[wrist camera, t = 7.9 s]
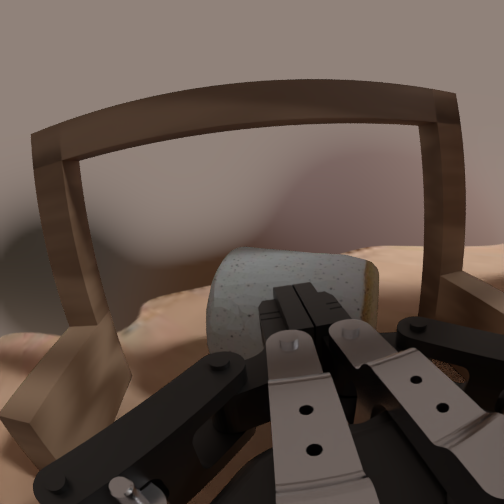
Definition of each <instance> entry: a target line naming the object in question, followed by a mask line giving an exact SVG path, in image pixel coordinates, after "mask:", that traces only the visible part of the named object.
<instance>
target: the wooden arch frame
mask: <svg viewBox="0 0 504 504" xmlns="http://www.w3.org/2000/svg"><path fill="white" fill-rule="evenodd" d="M327 123H328V124H331V123H372V124H374V123H375V124H400V125H416V126H419V135H420V143H421V154H422V166H423V184H424V254H423V272H422V285H421V295H420V305H419V313H418V317H425V318H429V319H433V320H438V321H442V322H447V323H451V324H456V325H460V326H465V327H469V328H474V329H478V330H483V331H488V332H492V333H497V334H502V335H504V292H502V291H500V290H498V289H496V288H495V287H493V286H491V285H489V284H487V283H485V282H483V281H481V280H480V279H478V278H476V277H474V276H472V275H470V274H468V273H466V272H464V271H462V267H463V256H464V242H465V218H466V217H465V216H466V212H465V211H466V189H465V167H464V166H465V165H464V152H463V141H462V132H461V124H460V117H459V110H458V104H457V98H456V94H455V93H451V92H445V91H440V90H435V89H429V88H423V87H416V86H408V85H400V84H392V83H383V82H371V81H355V80H332V79H331V80H330V79H298V80H297V79H296V80H271V81H257V82H244V83H234V84H225V85H218V86H209V87H203V88H195V89H189V90H183V91H178V92H172V93H167V94H162V95H157V96H153V97H148V98H144V99H140V100H135V101H131V102H127V103H123V104H119V105H115V106H112V107H108V108H105V109H101V110H98V111H94V112H91V113H88V114H85V115H82V116H79V117H76V118H73V119H70V120H67V121H64V122H61V123H59V124H56V125H53V126H50V127H48V128H45V129H43V130H40V131H38V132H35V133H33V134H31V145H32V159H33V169H34V178H35V186H36V194H37V200H38V207H39V213H40V219H41V224H42V229H43V234H44V239H45V243H46V248H47V252H48V256H49V261H50V264H51V268H52V272H53V275H54V279H55V282H56V286H57V290H58V293H59V296H60V299H61V303H62V306H63V309H64V312H65V315H66V318H67V320H68V323H69V326H70V327H69V328H68V329H67V330H66V332H65V333H64V334H63V335H62V336H61V337H60V338H59V339H58V341H57V342H56V343H55V344H54V345H53V346H52V347H51V349H50V350H49V351H48V352H47V353H46V355H45V356H44V357H43V358H42V359H41V360H40V362H39V363H38V364H37V365H36V366H35V368H34V369H33V370H32V371H31V373H30V374H29V375H28V376H27V378H26V379H25V380H24V381H23V383H22V384H21V385H20V386H19V388H18V389H17V390H16V391H15V393H14V394H13V395H12V397H11V398H10V399H9V401H8V402H7V403H6V405H5V406H4V407H3V409H2V410H1V411H0V420H1V421H2V423H3V424H4V425H5V427H6V428H7V430H8V431H9V433H10V434H11V435H12V437H13V438H14V439H15V441H16V442H17V443H18V445H19V446H20V447H21V449H22V450H23V451H24V452H25V454H26V455H27V456H28V457H29V459H30V460H31V461H32V462H33V463H34V465H35V466H36V467H37V468H38V469H39V470H41V469H43V468H44V467H45V466H47V465H49V464H50V463H52V462H54V461H55V460H57V459H58V458H60V457H62V456H63V455H65V454H66V453H68V452H69V451H71V450H73V449H74V448H76V447H77V446H79V445H80V444H82V443H83V442H85V441H87V440H88V439H90V438H91V437H93V436H94V435H96V434H97V433H99V432H100V431H102V430H103V429H105V428H106V427H108V426H109V425H111V424H112V423H113V422H114V420H115V417H116V415H117V412H118V410H119V407H120V404H121V402H122V399H123V397H124V394H125V392H126V389H127V387H128V384H129V382H130V380H131V377H132V374H131V372H130V369H129V366H128V364H127V361H126V358H125V356H124V353H123V350H122V347H121V344H120V342H119V339H118V336H117V333H116V330H115V327H114V323H113V320H112V317H111V314H110V310H109V307H108V304H107V301H106V297H105V294H104V290H103V286H102V282H101V278H100V275H99V270H98V267H97V262H96V258H95V254H94V249H93V245H92V240H91V235H90V230H89V225H88V219H87V214H86V208H85V202H84V195H83V189H82V182H81V173H80V166H79V161H80V160H84V159H87V158H91V157H95V156H98V155H102V154H106V153H110V152H114V151H118V150H123V149H127V148H132V147H136V146H141V145H146V144H151V143H155V142H161V141H166V140H171V139H177V138H183V137H188V136H195V135H202V134H209V133H216V132H224V131H232V130H240V129H250V128H260V127H271V126H285V125H301V124H327ZM449 364H450V363H449ZM450 365H451V366H452V367H453V368H454V369H455V370H456V371H457V372H458V373H459V374H460V375H461V376H462V377H463V378H464V379H465V380H466V381H467V380H468V379H469V372H468V370H467V369H466V368H464V367H461V366H457V365H454V364H450Z"/></svg>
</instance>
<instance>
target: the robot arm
mask: <svg viewBox="0 0 504 504" xmlns="http://www.w3.org/2000/svg"><path fill="white" fill-rule="evenodd" d="M273 298H274V299H272V300H265V301H262V302H261V303H260V305H259V307H258V311H259V320H260V328H261V337H262V343H263V347H264V349H263V350H262V351H261V352H260V353H259V354H257V355H256V356H254V357H251V358H249V359H246V360H244V358H243V357H242V356H241V355H239V354H237V353H234V352H228V351H222V352H215V353H212V354H209V355H207V356H205V357H203V358H202V359H200V360H199V361H198V362H196V363H195V364H194V365H193V366H191V367H190V368H189V369H187V370H186V371H185V372H183V373H182V374H181V375H179V376H178V377H177V378H175V379H174V380H172V381H171V382H170V383H168V384H167V385H166V386H164V387H163V388H162V389H160V390H159V391H157V392H156V393H155V394H153V395H152V396H151V397H149V398H148V399H146V400H145V401H144V402H142V403H141V404H139V405H138V406H137V407H135V408H134V409H132V410H131V411H129V412H128V413H127V414H125V415H124V416H122V417H121V418H119V419H118V420H116V421H115V422H113V423H112V424H111V425H109V426H108V427H106V428H105V429H103V430H102V431H100V432H99V433H97V434H96V435H94V436H93V437H91V438H90V439H88V440H87V441H85V442H83V443H82V444H80V445H79V446H77V447H76V448H74V449H73V450H71V451H69V452H68V453H66V454H65V455H63V456H62V457H60V458H58V459H57V460H55V461H54V462H52V463H50V464H49V465H47V466H45V467H44V468H43V469H41V470H40V471H39V473H38V474H37V475H36V477H35V479H34V483H33V491H34V495H35V497H36V499H37V500H38V501H39V503H40V504H187V503H188V502H189V501H190V500H191V499H192V498H193V497H194V496H195V495H196V494H197V493H199V492H200V491H201V490H202V489H203V488H204V487H205V486H206V485H207V484H208V483H209V482H210V481H211V480H212V479H213V478H214V477H215V476H216V475H217V474H218V473H219V472H220V471H221V470H222V469H223V468H224V467H225V465H226V464H227V463H228V462H229V461H230V460H231V459H232V458H233V457H234V456H235V455H236V454H237V453H238V452H239V451H240V449H241V448H242V447H243V446H244V445H245V444H246V443H247V442H248V441H249V439H250V438H251V437H252V436H253V435H254V433H255V431H256V427H257V426H259V425H262V424H264V423H267V422H269V421H271V429H272V442H273V447H272V448H270V449H268V450H266V451H264V452H262V453H261V454H259V455H257V456H256V457H254V458H253V459H252V460H250V461H249V462H248V463H247V464H245V465H244V466H243V467H242V468H241V469H240V470H239V471H238V472H237V473H236V475H235V476H234V477H233V478H232V479H231V480H230V482H229V483H228V484H227V485H226V486H225V487H224V488H223V490H222V491H221V492H220V493H219V494H218V495H217V496H216V497H215V498H214V500H213V501H212V502H211V503H210V504H504V335H502V334H497V333H492V332H488V331H483V330H478V329H474V328H469V327H465V326H460V325H456V324H451V323H447V322H442V321H438V320H433V319H429V318H425V317H408V318H405V319H403V320H401V321H400V322H399V323H398V325H397V332H391V333H378V332H377V331H376V330H375V329H374V328H373V327H372V326H371V325H370V324H368V323H367V322H364V321H362V320H357V319H352V318H351V317H350V315H349V314H348V313H347V312H346V310H345V309H344V308H343V307H342V305H341V304H340V303H338V300H337V299H336V298H335V297H334V296H333V295H331V294H329V293H327V292H325V291H323V292H317V290H316V289H315V288H314V286H313V285H312V283H311V282H306V283H299V284H293V285H286V286H279V287H273ZM432 359H435V360H438V361H442V362H446V363H450V364H454V365H457V366H461V367H464V368H466V369H467V370H468V372H469V379H468V380H467V381H466V382H464V383H457V382H453V381H452V380H450V379H449V378H448V377H447V376H446V375H445V374H444V373H443V372H442V371H441V370H440V369H438V368H437V367H436V366H435V365H434V364H433V363H432Z"/></svg>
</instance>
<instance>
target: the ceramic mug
mask: <svg viewBox="0 0 504 504" xmlns="http://www.w3.org/2000/svg"><path fill="white" fill-rule="evenodd" d="M306 282H311V283H312V285H313V286H314V288H315V289H316V290H317V292H323V291H325V292H327V293H329V294H331V295H333V296H334V297H335V298H336V299H337V300H338V303H340V304H341V305H342V307H343V308H344V309H345V310H346V312H347V313H348V314H349V315H350V317H351V318H352V319H357V320H362V321H364V322H367V323H368V324H370V325H371V326H372V327H373V328H374V329H375V330H376V323H377V311H378V295H379V272H378V269H377V267H376V266H375V265H374V264H373V263H372V262H370V261H367V260H364V259H360V258H356V257H352V256H348V255H340V254H323V253H306V252H296V251H286V250H274V249H262V248H252V247H240V248H237V249H234V250H233V251H231V252H230V253H229V254H228V255H227V256H226V257H225V258H224V260H223V262H222V263H221V265H220V266H219V268H218V270H217V272H216V274H215V276H214V279H213V282H212V285H211V289H210V294H209V298H208V303H207V309H206V332H207V344H208V349H209V352H210V354H212V353H215V352H222V351H228V352H234V353H237V354H239V355H241V356H242V357H243V358H244V360H246V359H249V358H251V357H254V356H256V355H257V354H259V353H260V352H261V351H262V350H263V349H264V347H263V343H262V337H261V328H260V320H259V311H258V307H259V305H260V303H261V302H262V301H265V300H272V299H274V298H273V287H279V286H286V285H293V284H299V283H306Z"/></svg>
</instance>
